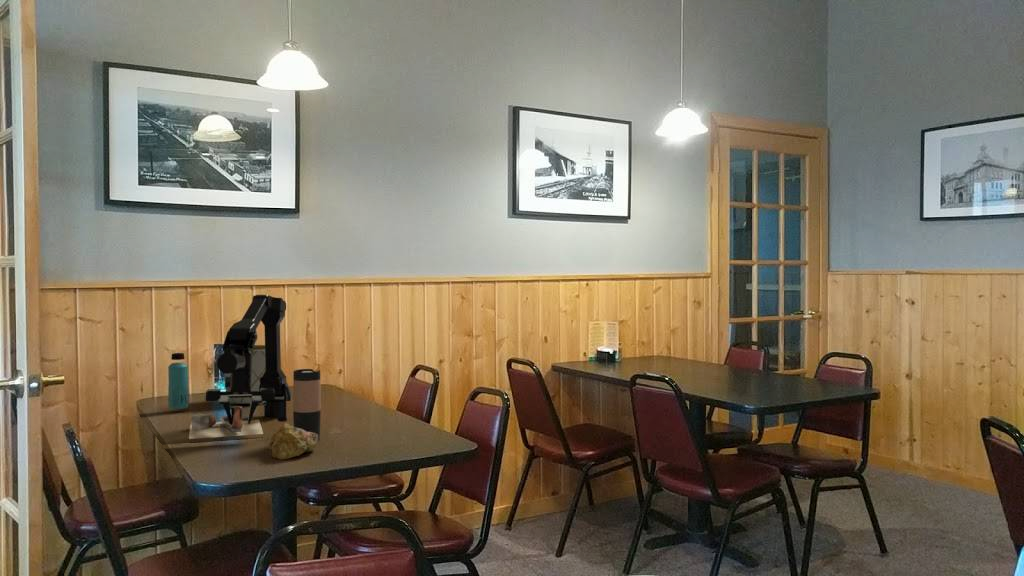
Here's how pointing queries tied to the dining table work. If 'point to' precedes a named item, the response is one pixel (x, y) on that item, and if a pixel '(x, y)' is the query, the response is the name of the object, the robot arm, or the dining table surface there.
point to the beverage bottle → (178, 383)
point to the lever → (234, 419)
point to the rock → (291, 442)
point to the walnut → (212, 420)
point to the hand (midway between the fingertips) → (239, 424)
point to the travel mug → (307, 400)
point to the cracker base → (220, 429)
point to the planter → (253, 374)
